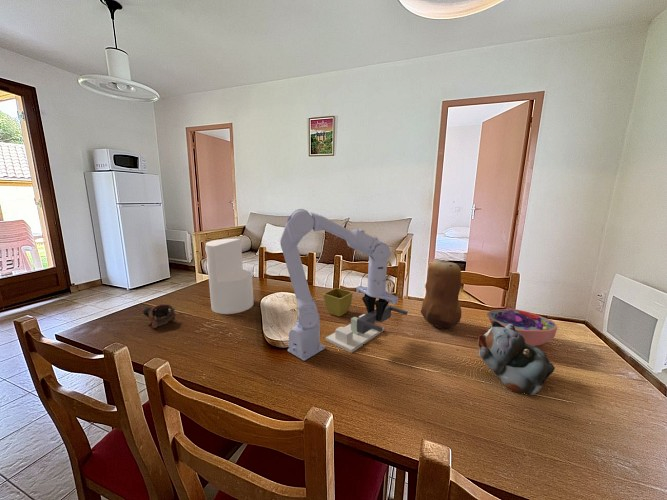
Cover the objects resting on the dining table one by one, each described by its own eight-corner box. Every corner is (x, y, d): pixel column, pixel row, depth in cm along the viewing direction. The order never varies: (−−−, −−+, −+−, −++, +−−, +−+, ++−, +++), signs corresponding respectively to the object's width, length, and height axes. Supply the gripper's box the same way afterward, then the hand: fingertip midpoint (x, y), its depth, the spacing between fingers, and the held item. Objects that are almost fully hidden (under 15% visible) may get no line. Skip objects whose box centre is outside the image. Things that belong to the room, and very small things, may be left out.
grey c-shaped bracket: (380, 341, 80) (380, 328, 79) (356, 331, 86) (357, 319, 85) (406, 322, 92) (407, 311, 91) (384, 314, 97) (385, 304, 96)
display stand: (351, 352, 87) (351, 334, 86) (325, 340, 94) (325, 323, 93) (383, 330, 101) (384, 314, 99) (359, 321, 108) (359, 306, 107)
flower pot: (340, 320, 108) (340, 298, 106) (322, 314, 114) (322, 293, 112) (352, 312, 115) (353, 292, 113) (335, 307, 120) (336, 287, 118)
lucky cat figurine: (527, 405, 66) (498, 344, 67) (481, 389, 79) (458, 338, 80) (566, 368, 72) (539, 313, 73) (518, 359, 85) (495, 312, 86)
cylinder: (202, 310, 116) (195, 244, 110) (228, 295, 132) (224, 237, 126) (237, 316, 111) (232, 247, 105) (261, 300, 127) (257, 240, 121)
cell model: (566, 359, 84) (573, 325, 82) (494, 351, 88) (499, 319, 86) (538, 332, 100) (543, 303, 98) (478, 326, 104) (482, 298, 102)
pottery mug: (181, 316, 112) (180, 304, 106) (169, 337, 104) (166, 324, 99) (150, 310, 110) (147, 296, 105) (135, 330, 103) (131, 317, 98)
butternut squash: (452, 318, 111) (459, 257, 105) (464, 335, 98) (473, 267, 92) (417, 316, 112) (421, 256, 107) (424, 333, 99) (430, 265, 94)
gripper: (404, 280, 86) (401, 321, 89) (365, 271, 95) (364, 308, 98) (392, 286, 81) (389, 329, 83) (352, 275, 90) (351, 314, 93)
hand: (375, 318), depth 90 cm, fingers closed on grey c-shaped bracket, 2 cm apart
